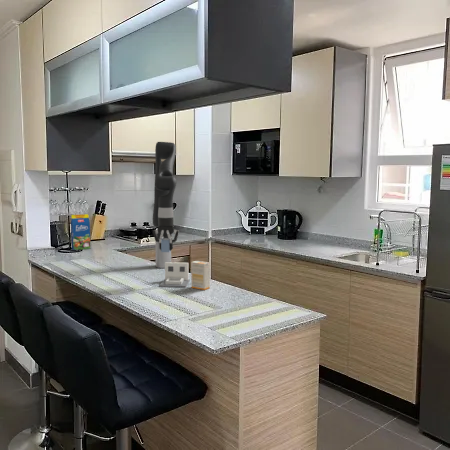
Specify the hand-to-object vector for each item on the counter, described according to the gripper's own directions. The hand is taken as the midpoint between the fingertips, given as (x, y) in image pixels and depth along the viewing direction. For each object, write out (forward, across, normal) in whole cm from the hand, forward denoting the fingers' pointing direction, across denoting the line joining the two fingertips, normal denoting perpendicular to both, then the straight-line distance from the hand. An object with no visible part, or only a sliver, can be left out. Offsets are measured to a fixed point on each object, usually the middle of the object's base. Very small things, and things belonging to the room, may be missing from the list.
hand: (166, 250), depth 231 cm
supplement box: (+18, -18, +6) cm, 26 cm away
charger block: (+1, 0, 0) cm, 1 cm away
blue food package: (+17, +83, -92) cm, 125 cm away
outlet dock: (+17, -4, 0) cm, 18 cm away
